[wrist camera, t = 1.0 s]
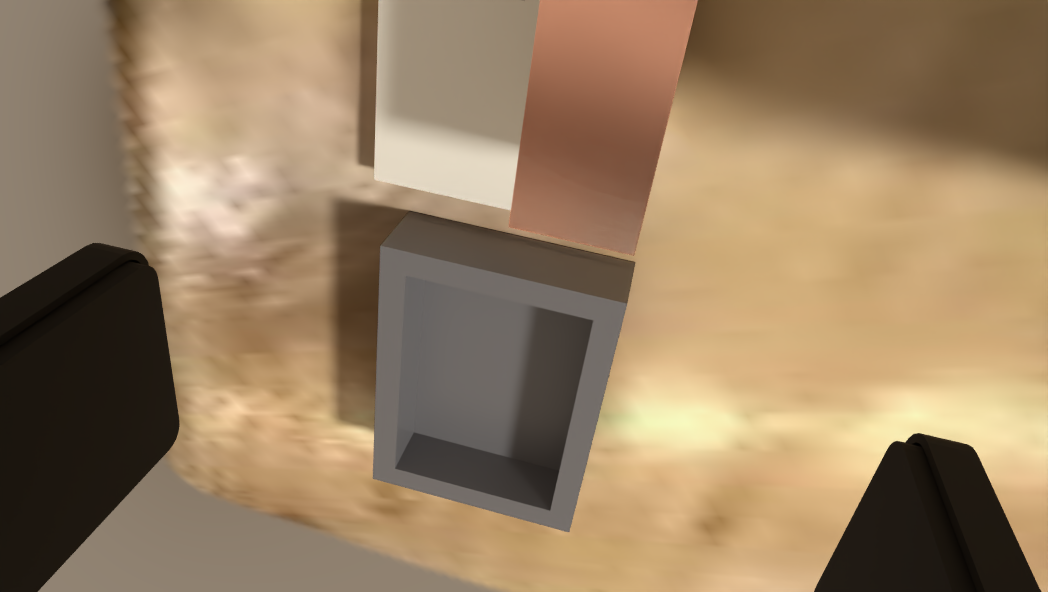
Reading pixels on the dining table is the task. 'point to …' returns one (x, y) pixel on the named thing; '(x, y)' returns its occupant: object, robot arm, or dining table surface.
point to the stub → (597, 117)
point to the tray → (492, 365)
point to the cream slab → (453, 95)
